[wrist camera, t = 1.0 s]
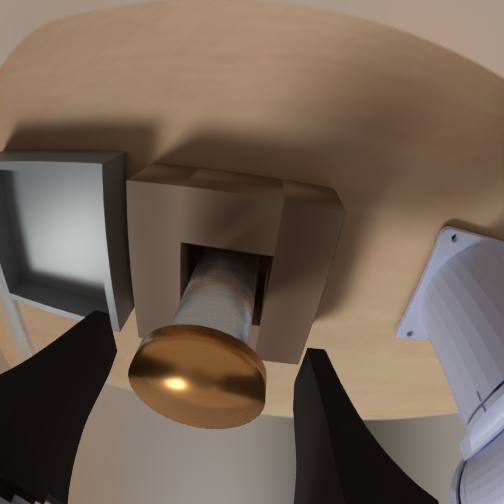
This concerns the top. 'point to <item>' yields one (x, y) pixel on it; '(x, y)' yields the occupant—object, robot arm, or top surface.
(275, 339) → the holder block
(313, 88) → the top surface
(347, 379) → the top surface
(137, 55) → the top surface
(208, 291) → the pin
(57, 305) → the tray
